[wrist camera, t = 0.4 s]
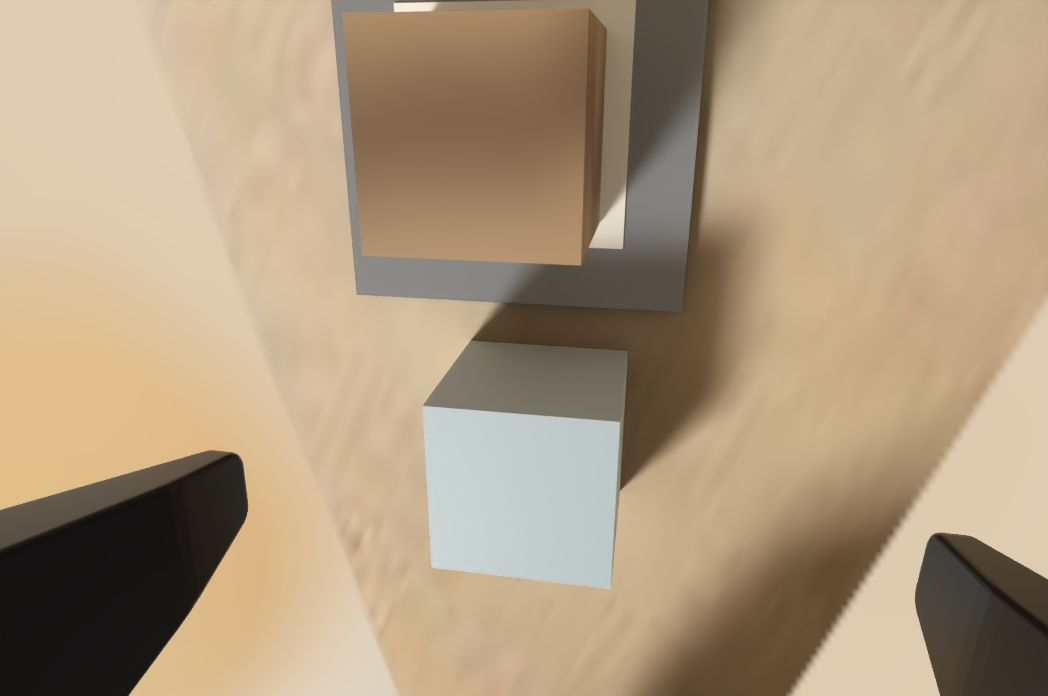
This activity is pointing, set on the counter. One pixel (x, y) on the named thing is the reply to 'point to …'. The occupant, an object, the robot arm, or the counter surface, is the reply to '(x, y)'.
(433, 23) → the walnut block
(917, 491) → the counter surface
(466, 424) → the bluegrey block
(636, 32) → the pad
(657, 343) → the counter surface
